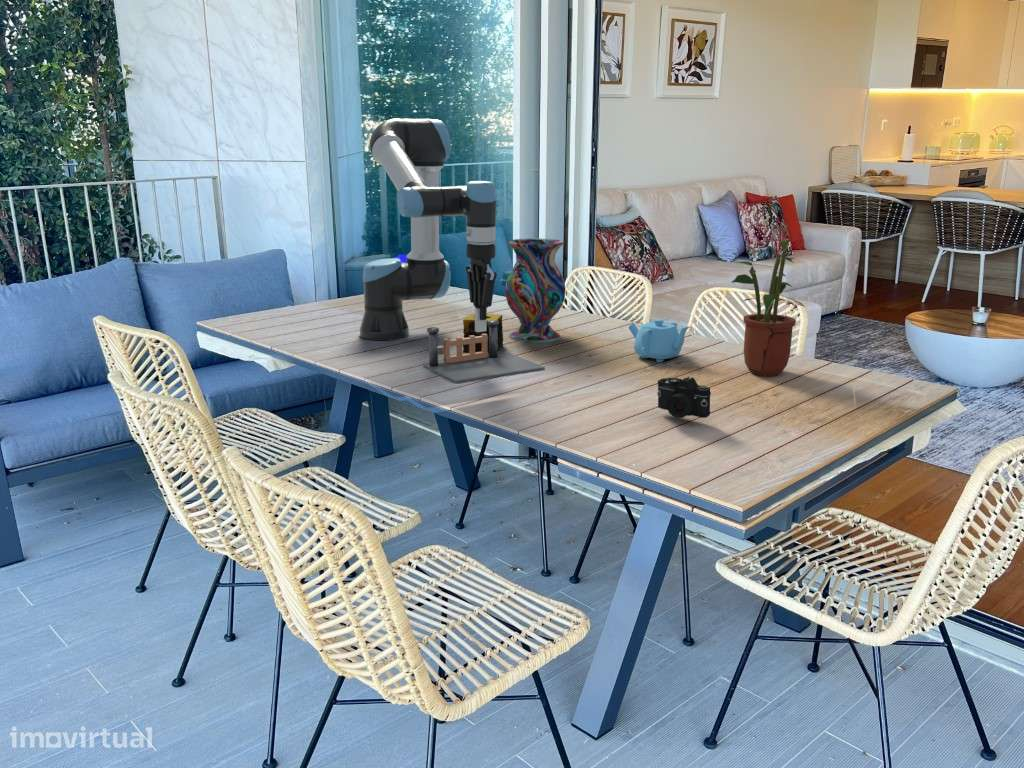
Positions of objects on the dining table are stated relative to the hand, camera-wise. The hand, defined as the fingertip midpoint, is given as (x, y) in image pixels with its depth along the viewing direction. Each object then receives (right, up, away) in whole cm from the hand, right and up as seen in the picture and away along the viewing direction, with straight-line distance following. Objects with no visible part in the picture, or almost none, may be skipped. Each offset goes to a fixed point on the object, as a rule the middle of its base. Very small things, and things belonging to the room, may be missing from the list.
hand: (480, 331), depth 232 cm
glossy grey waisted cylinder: (+3, -7, +12) cm, 14 cm away
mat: (+1, -10, +3) cm, 10 cm away
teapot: (+50, -7, +13) cm, 52 cm away
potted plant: (+73, -12, -3) cm, 74 cm away
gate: (-4, -7, +7) cm, 11 cm away
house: (-33, +21, +114) cm, 121 cm away
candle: (0, -5, +22) cm, 23 cm away
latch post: (-12, -9, +4) cm, 16 cm away
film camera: (+46, -22, -36) cm, 62 cm away
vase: (+15, 0, +37) cm, 40 cm away
